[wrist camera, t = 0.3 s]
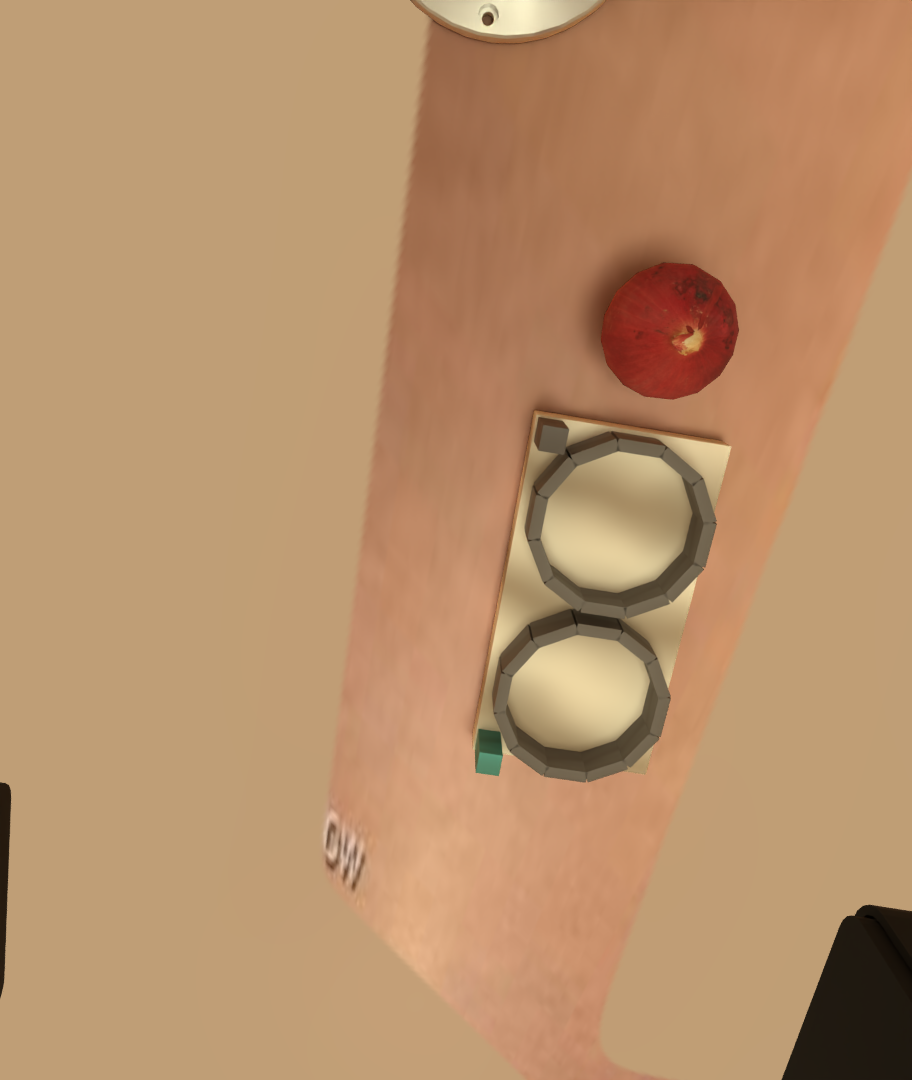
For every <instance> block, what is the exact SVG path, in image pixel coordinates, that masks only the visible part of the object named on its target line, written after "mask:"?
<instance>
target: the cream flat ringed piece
mask: <svg viewBox="0 0 912 1080" xmlns="http://www.w3.org/2000/svg"><path fill="white" fill-rule="evenodd" d="M730 450H731V446H730V445H728V444H726V443H725V442H723V441H720V440H714V439H708V438H701V437H695V436H689V435H683V434H677V433H671V432H665V431H659V430H653V429H647V428H641V427H635V426H629V425H623V424H616V423H610V422H604V421H598V420H592V419H586V418H580V417H574V416H568V415H562V414H556V413H550V412H544V411H538V410H534V413H533V418H532V424H531V429H530V434H529V439H528V445H527V450H526V455H525V461H524V466H523V471H522V476H521V482H520V487H519V492H518V497H517V503H516V508H515V513H514V518H513V524H512V529H511V534H510V539H509V545H508V550H507V555H506V560H505V566H504V571H503V576H502V581H501V587H500V592H499V597H498V602H497V608H496V613H495V618H494V623H493V629H492V634H491V639H490V644H489V650H488V655H487V660H486V665H485V671H484V676H483V681H482V686H481V692H480V697H479V702H478V707H477V713H476V718H475V723H474V728H473V734H472V745H473V750H475V767H476V773H481V774H488V775H495V776H499V772H500V767H501V762H502V757H503V754H507V755H514V756H516V757H517V758H518V759H520V760H521V761H523V762H524V763H525V764H527V765H528V766H529V767H531V768H532V769H533V770H535V771H536V772H537V773H539V774H540V775H543V774H544V777H550V778H557V779H564V780H571V781H578V782H586V779H587V781H588V782H591V781H594V780H597V779H600V778H603V777H606V776H609V775H612V774H615V773H618V772H621V771H624V772H631V773H638V774H644V775H646V772H647V768H648V764H649V760H650V756H651V753H652V749H653V745H654V744H655V743H656V742H657V741H658V740H659V737H661V734H662V730H663V726H664V722H665V718H666V715H667V711H668V707H669V703H670V699H671V698H670V697H671V696H670V693H669V690H668V687H669V684H670V680H671V676H672V672H673V668H674V665H675V661H676V657H677V653H678V649H679V645H680V642H681V638H682V634H683V630H684V626H685V622H686V619H687V615H688V611H689V607H690V603H691V599H692V596H693V592H694V588H695V584H696V580H697V577H698V575H699V574H700V573H701V572H702V571H703V570H704V569H703V568H702V567H705V566H706V563H707V559H708V555H709V551H710V547H711V544H712V540H713V536H714V532H715V528H716V525H717V524H716V523H715V522H716V517H715V514H714V511H715V508H716V504H717V500H718V496H719V492H720V488H721V485H722V481H723V477H724V473H725V469H726V466H727V462H728V458H729V454H730Z"/></svg>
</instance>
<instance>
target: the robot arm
mask: <svg viewBox="0 0 912 1080" xmlns="http://www.w3.org/2000/svg"><path fill="white" fill-rule="evenodd" d="M411 1H412V3H413V4H414V5H415V6H416V7H417V8H419V9H420V10H421V11H422V12H424V13H425V14H426V15H428V16H429V17H430V18H432V19H433V20H434V21H436V22H437V23H438V24H440V25H442V26H444V27H446V28H448V29H450V30H452V31H454V32H457V33H459V34H461V35H463V36H465V37H469V38H474V39H478V40H482V41H486V42H490V43H523V42H528V41H533V40H539V39H544V38H547V37H550V36H552V35H554V34H557V33H559V32H561V31H564V30H566V29H569V28H571V27H573V26H574V25H576V24H577V23H579V22H580V21H582V20H583V19H584V18H586V17H587V16H589V15H590V14H592V13H593V12H595V11H596V10H597V9H598V8H599V7H600V6H601V5H602V4H603V3H604V2H605V1H606V0H411ZM485 15H490V16H492V18H493V19H494V22H493V24H492V25H490V26H486V25H484V24H483V22H482V18H483V17H484V16H485ZM10 811H11V790H10V787H9V785H7V784H6V783H0V997H1V994H2V989H3V984H4V971H5V945H6V944H5V943H6V918H7V917H6V916H7V890H8V889H7V888H8V863H9V837H10ZM782 1080H912V911H906V910H899V909H893V908H886V907H880V906H874V905H865V906H862V907H861V908H860V909H859V910H857V912H856V914H855V916H847V917H846V918H845V919H844V920H843V921H842V923H841V925H840V927H839V930H838V932H837V935H836V938H835V940H834V943H833V945H832V948H831V951H830V953H829V956H828V959H827V961H826V964H825V966H824V969H823V972H822V974H821V977H820V980H819V982H818V985H817V988H816V990H815V993H814V996H813V998H812V1001H811V1004H810V1006H809V1009H808V1011H807V1014H806V1017H805V1019H804V1022H803V1025H802V1027H801V1030H800V1033H799V1036H798V1038H797V1041H796V1043H795V1046H794V1049H793V1051H792V1054H791V1056H790V1059H789V1062H788V1064H787V1067H786V1070H785V1072H784V1075H783V1078H782Z"/></svg>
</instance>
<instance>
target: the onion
mask: <svg viewBox="0 0 912 1080" xmlns="http://www.w3.org/2000/svg"><path fill="white" fill-rule="evenodd" d="M738 332H739V328H738V321H737V313H736V306H735V303H734V302H733V300H732V299H731V297H730V295H729V294H728V292H727V291H726V289H725V287H724V286H723V284H722V283H721V281H719V280H718V279H716V278H714V277H713V276H711V275H710V274H708V273H706V272H705V271H703V270H702V269H700V268H698V267H697V266H695V265H693V264H677V263H661V264H659V265H656V266H654V267H651V268H648V269H646V270H643V271H641V272H638V273H636V274H635V275H634V276H633V277H632V278H631V279H630V280H629V281H628V282H626V283H625V284H624V285H623V286H622V287H621V288H620V289H619V290H618V291H617V292H616V294H615V296H614V298H613V300H612V302H611V304H610V305H609V307H608V309H607V311H606V313H605V315H604V321H603V328H602V336H601V342H602V346H603V350H604V354H605V359H606V363H607V365H608V366H609V368H610V369H611V370H612V371H613V373H614V374H615V375H616V376H617V377H618V379H619V380H620V381H621V382H622V384H623V385H625V386H626V387H628V388H630V389H632V390H634V391H635V392H637V393H639V394H641V395H643V396H645V397H654V398H663V399H677V398H680V397H684V396H688V395H691V394H695V393H698V392H699V391H701V390H702V389H703V388H704V387H706V386H707V385H708V384H709V383H711V382H712V381H713V380H715V379H716V378H717V377H718V376H720V374H721V373H722V371H723V370H724V368H725V366H726V365H727V363H728V362H729V360H730V359H731V357H732V355H733V352H734V348H735V343H736V340H737V336H738Z"/></svg>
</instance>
